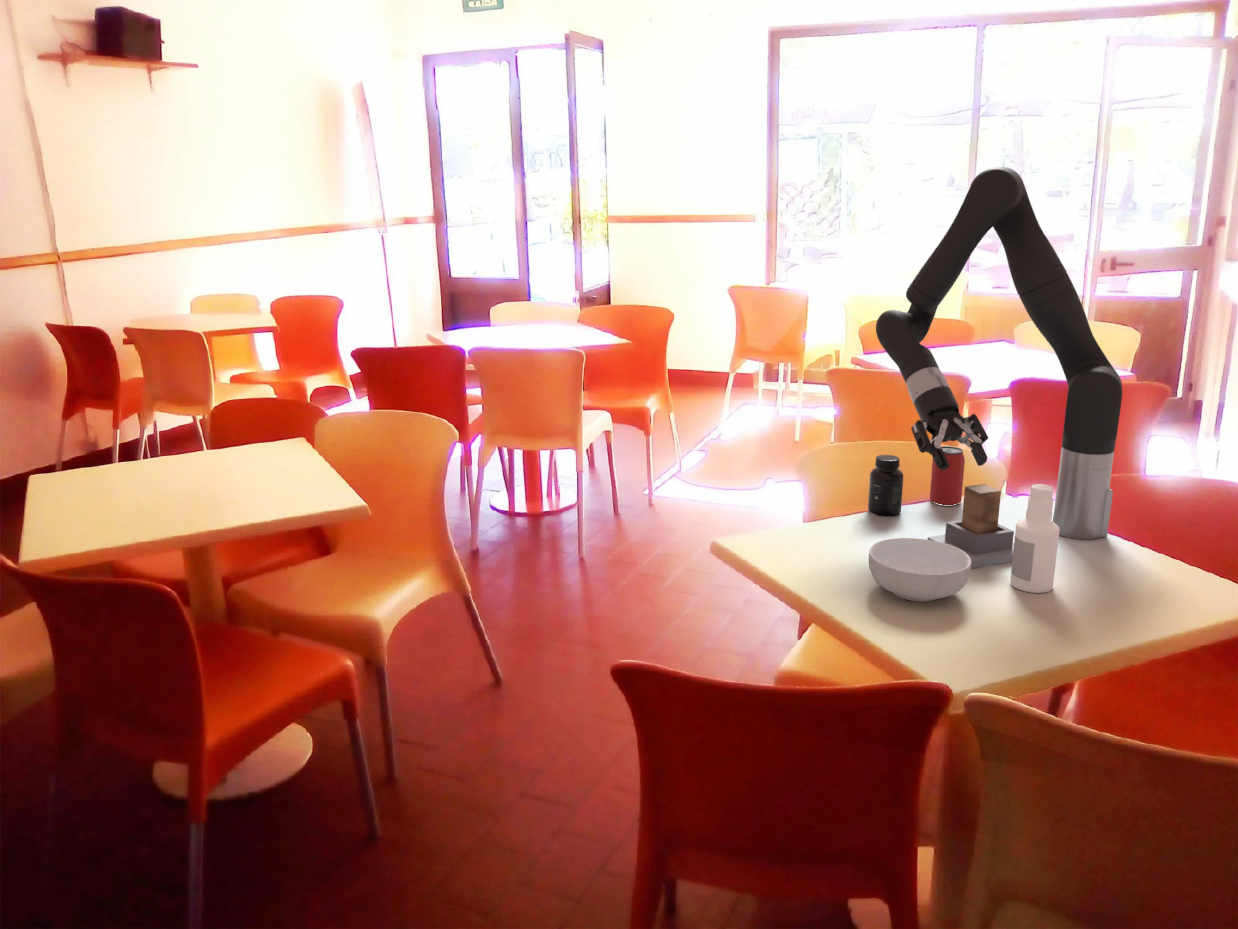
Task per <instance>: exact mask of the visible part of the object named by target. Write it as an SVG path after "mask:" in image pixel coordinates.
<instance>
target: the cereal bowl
mask: <svg viewBox="0 0 1238 929" xmlns="http://www.w3.org/2000/svg"><path fill="white" fill-rule="evenodd" d="M868 569H869V572H870V574H871V576H872V578H873V579H874V580H875V581H876V583H877V584H878V585H880V586H881V587H882V588H883V589H885V590H887V591H889V592H891V593H893V594H894V595H895V596H897V597H898V598H901V599H904V600H908V601H912V602H917V603H918V602H919V603H920V602H921V603H922V602H923V603H925V602H931V601H935V600H937V599H942V598H948V597H951V596H954V595H955V594H957V593H958V592H960V591H961V590H962V589H963V588H964V587H965V585H967V583H968V581H969V579H970V574H971V570H972V569H971V559H970V557H969V556H968V555H967V554H966V553H965V552H964V551H962V550H960V549H959V548H956V547H954V546H951V545H949V544H945V543H941V542H937V541H932V540H928V539H925V538H924V539H923V538H915V537H914V538H911V537H898V538H896V537H895V538H889V539H883V540H880V541H878V542H876V543H874V544H872V545H871V547H870V549H869V551H868Z"/></svg>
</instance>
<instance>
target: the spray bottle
mask: <svg viewBox="0 0 1238 929" xmlns="http://www.w3.org/2000/svg"><path fill="white" fill-rule="evenodd" d="M1053 494H1054V487H1053V486H1051V485H1049V484H1044V483H1036V484H1032V485H1031V486H1030V494H1029V497H1027V498H1028V499H1027V508H1026V510H1025V511H1026V512H1025V518H1023V519H1020V520H1018V521H1017V522H1016V524H1015V531H1014V532H1015V533H1014V540H1013V543H1014V550H1013V560H1012V562H1011V571H1010V581H1009V582H1010V584H1011V586H1012V587H1013V588H1015V589H1017V590H1019V591H1022V592H1026V593H1031V594H1032V593H1033V594H1043V593H1048V592H1050V591H1051V590H1052V589H1053V588H1054V580H1055V571H1056V564H1057V554H1058V548H1059V539H1060V538H1059V537H1060V534H1059V531H1060V530H1059V526H1058V525H1056V524H1055V523H1054V522H1053V509H1054V508H1053V507H1054V506H1053V505H1054V499H1053Z"/></svg>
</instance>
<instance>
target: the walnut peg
mask: <svg viewBox="0 0 1238 929" xmlns="http://www.w3.org/2000/svg"><path fill="white" fill-rule="evenodd" d="M963 493H964V494H963V503H962V504H963V505H962V506H963V507H962V514H961V520H962V526H961V527H962V528H964V529H966V530H968V531H970V532H972V533H974V534H976V535H978V534H984V533H991V532H997V527H998V524H999V515H1000V505H1001V497H1002V496H1001V495H1002V494H1001V493H1002V490H1000V489H998V488H996V487H993V486H991V485H988V484H987V483H980V484H975V485H974V484H973V485H967V486H966V485H965V486H964V491H963Z"/></svg>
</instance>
